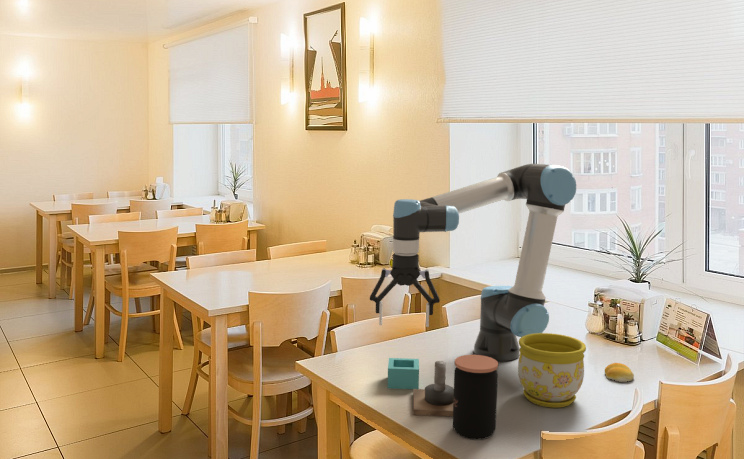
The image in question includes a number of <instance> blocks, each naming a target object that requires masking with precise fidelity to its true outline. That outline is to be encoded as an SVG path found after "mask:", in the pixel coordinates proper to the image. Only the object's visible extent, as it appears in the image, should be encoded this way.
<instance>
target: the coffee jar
mask: <svg viewBox="0 0 744 459" xmlns="http://www.w3.org/2000/svg"><path fill="white" fill-rule="evenodd" d="M454 366H455V367H454V372H453V374H454V375H453V388H454V399H453V416H452V428H453V430H454V431H455V432H456V434H457V435H459V436H460V437H462V438H464V439H469V440H484V439H488V438H490V437H492V435H493V434H494V433H495V431H496V429H497V428H496V427H497V403H498V380H499V379H498V378H499V376H498V370H497V369H498V367H499V361H496V360H495V359H493V358H490V357H487V356H482V355H475V354H465V355H460V356H457V357H456V358H455V359H454Z"/></svg>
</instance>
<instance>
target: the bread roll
mask: <svg viewBox="0 0 744 459" xmlns="http://www.w3.org/2000/svg"><path fill="white" fill-rule="evenodd" d="M604 374H605V376H606V378H607V379H608V380H610V379H612V380H611V381H614V380H615V381H614V382H618V381H619V382H620V383H627V381H628V382H631V381H633V380H634V377H635V374H634V373H633V371H632V370H631V368H630V367H629V366H628V365H626V364H624V363H621V362H612V363H610V364H608V365H607V366H606V367H605V368H604Z"/></svg>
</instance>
